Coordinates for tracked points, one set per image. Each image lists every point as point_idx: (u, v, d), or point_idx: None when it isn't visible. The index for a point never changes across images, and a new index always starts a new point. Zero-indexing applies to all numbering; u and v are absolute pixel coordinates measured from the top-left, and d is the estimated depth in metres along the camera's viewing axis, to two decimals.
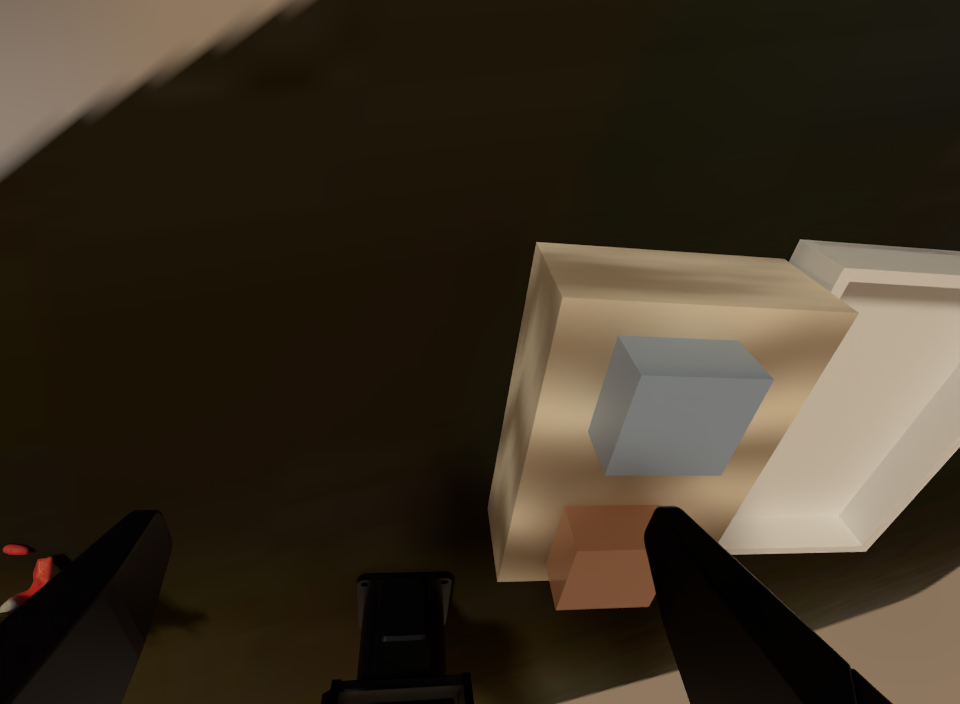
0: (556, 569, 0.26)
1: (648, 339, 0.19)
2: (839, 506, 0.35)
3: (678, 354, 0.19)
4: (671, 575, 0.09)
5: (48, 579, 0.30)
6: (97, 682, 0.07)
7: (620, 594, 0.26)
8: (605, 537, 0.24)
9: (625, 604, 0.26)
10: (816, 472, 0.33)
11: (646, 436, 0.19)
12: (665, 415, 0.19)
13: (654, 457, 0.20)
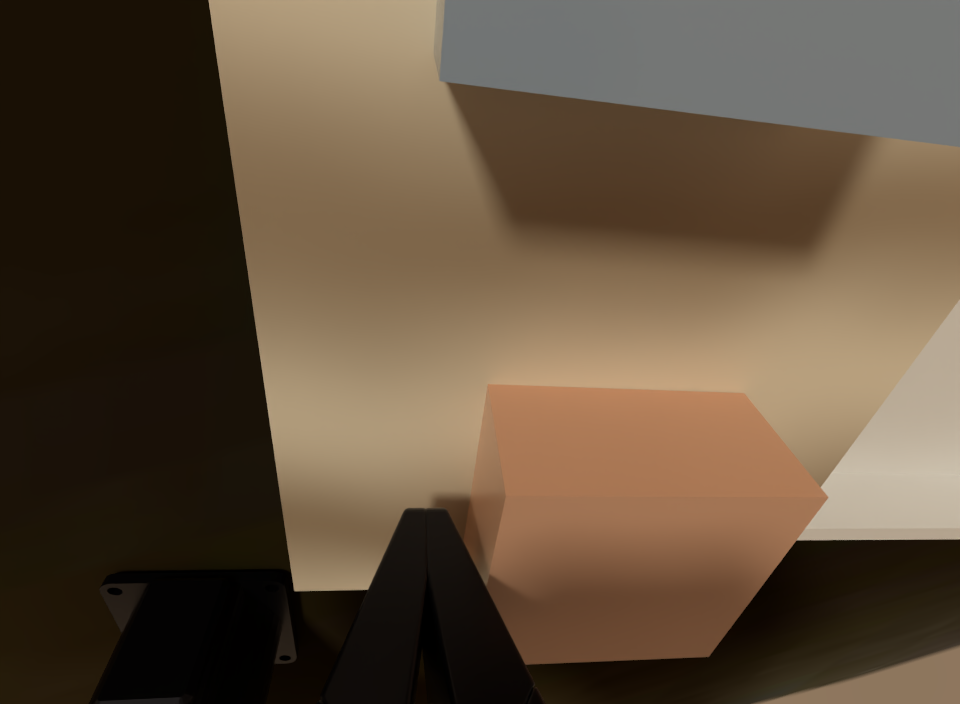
0: None
1: None
2: None
3: None
4: None
5: None
6: (418, 666, 0.08)
7: (639, 629, 0.10)
8: (599, 460, 0.08)
9: (651, 652, 0.10)
10: None
11: None
12: None
13: None
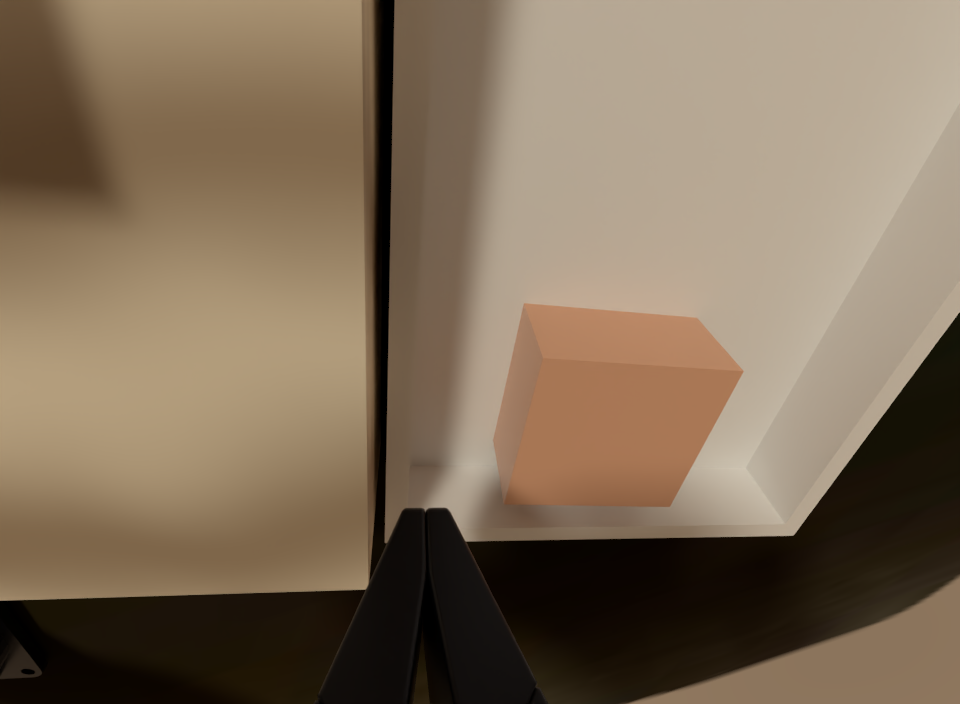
0: None
1: None
2: (744, 446, 0.18)
3: None
4: None
5: None
6: (416, 665, 0.08)
7: None
8: (654, 326, 0.13)
9: None
10: None
11: None
12: None
13: None
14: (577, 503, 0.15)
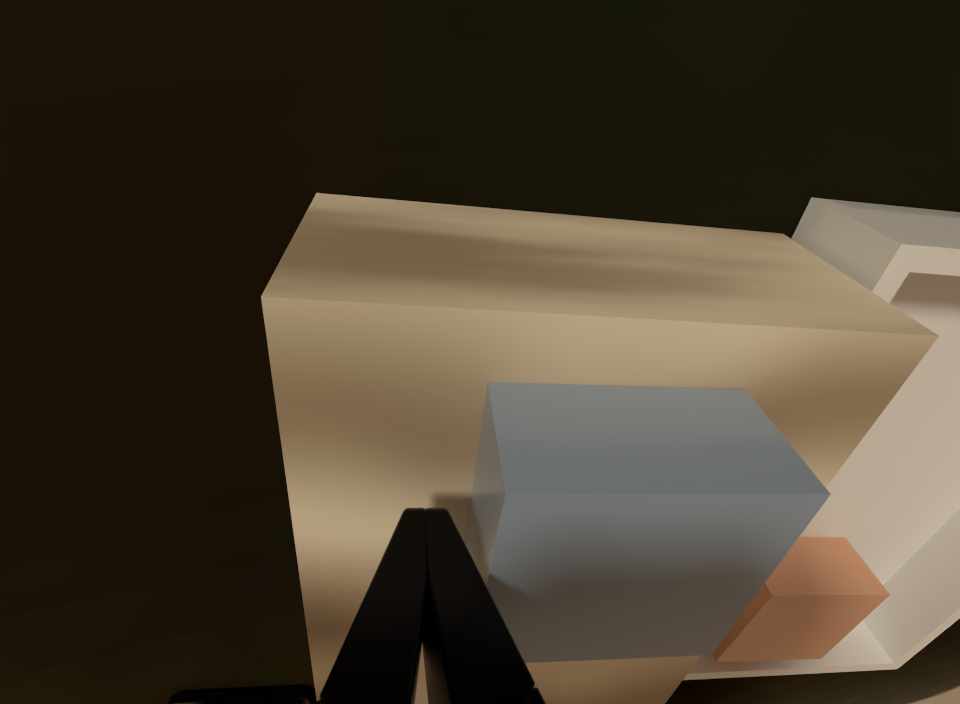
0: None
1: (552, 389, 0.09)
2: None
3: (611, 427, 0.08)
4: None
5: None
6: (418, 666, 0.08)
7: None
8: (823, 552, 0.20)
9: None
10: None
11: (545, 603, 0.09)
12: (581, 568, 0.08)
13: (569, 635, 0.09)
14: (761, 658, 0.22)
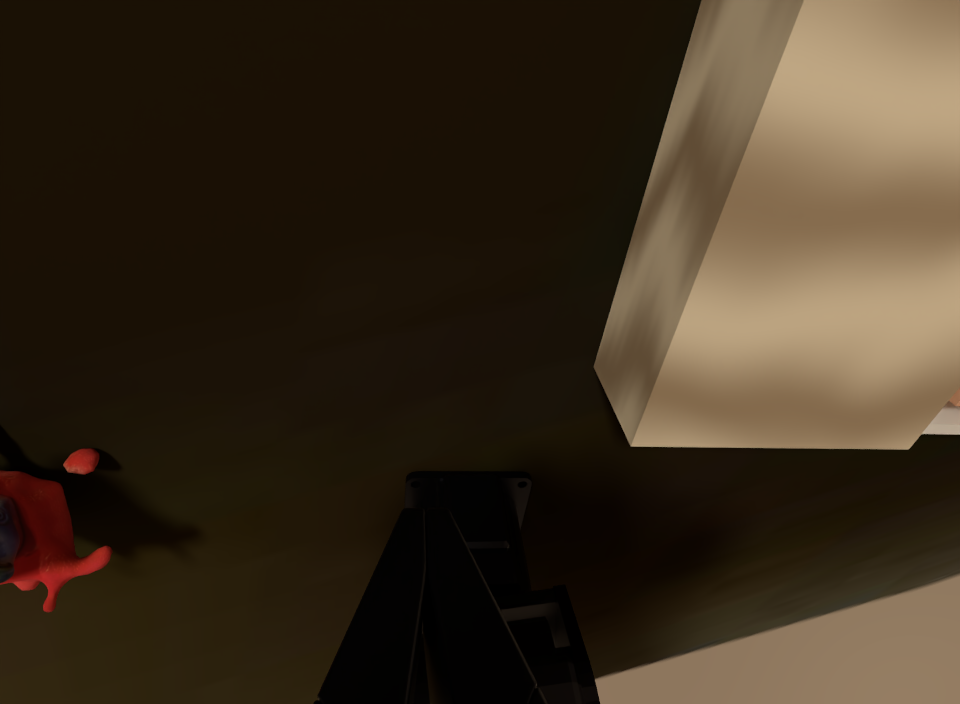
0: None
1: None
2: None
3: None
4: None
5: None
6: (416, 665, 0.08)
7: None
8: None
9: None
10: None
11: None
12: None
13: None
14: None
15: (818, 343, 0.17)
